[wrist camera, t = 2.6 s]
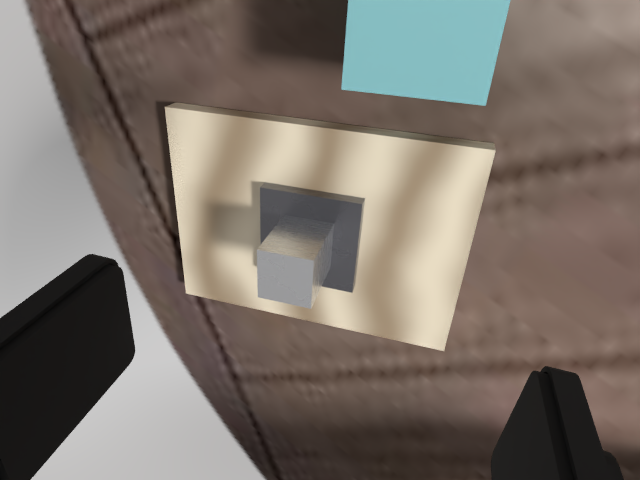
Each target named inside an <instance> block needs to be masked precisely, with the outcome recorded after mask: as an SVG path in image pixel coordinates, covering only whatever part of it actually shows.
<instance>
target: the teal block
mask: <svg viewBox="0 0 640 480" xmlns="http://www.w3.org/2000/svg"><path fill="white" fill-rule="evenodd" d="M509 4H510V0H348V11H347V24H346V37H345V50H344V63H343V76H342V90H351V91H359V92H368V93H377V94H386V95H395V96H404V97H413V98H422V99H431V100H440V101H448V102H457V103H466V104H475V105H484V106H486V102H487V98H488V93H489V89H490V85H491V81H492V76H493V72H494V68H495V64H496V59H497V55H498V51H499V47H500V42H501V38H502V34H503V29H504V25H505V21H506V17H507V12H508V8H509Z"/></svg>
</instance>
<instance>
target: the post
mask: <svg viewBox="0 0 640 480" xmlns="http://www.w3.org/2000/svg"><path fill="white" fill-rule="evenodd" d="M364 204H365V198H360V197H354V196H348V195H342V194H336V193H329V192H323V191H317V190H311V189H305V188H298V187H292V186H286V185H280V184H274V183H267V182H265V183H264V184H263V185H262V186H261V187H260V239H261V245H260V246H259V248H258V249H257V287H258V297H259V298H263V299H268V300H273V301H277V302H282V303H286V304H291V305H296V306H300V307H305V308H309V309H311V308H312V306H313V304H314V302H315V299H316V297H317V295H318V293H319V291H320V289H321V287H327V288H332V289H336V290H341V291H346V292H351V293H353V290H354V287H355V283H356V274H357V265H358V256H359V248H360V239H361V230H362V222H363V213H364Z"/></svg>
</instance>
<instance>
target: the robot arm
mask: <svg viewBox="0 0 640 480" xmlns="http://www.w3.org/2000/svg"><path fill="white" fill-rule="evenodd" d="M134 354H135V345H134V339H133V333H132V326H131V320H130V313H129V307H128V301H127V294H126V288H125V281H124V275H123V271H122V269H121V268H120V267H119V266H118V263H117V262H116V261H115V260H114V259H110V258H106V257H102V256H98V255H94V254H89V255H87V256H85V257H83V258H82V259H81V260H79V261H78V262H77V263H75V264H74V265H72V266H71V267H70V268H68V269H67V270H66V271H64V272H63V273H62V274H60V275H59V276H57V277H56V278H55V279H53V280H52V281H51V282H49V283H48V284H47V285H45V286H44V287H42V288H41V289H40V290H38V291H37V292H36V293H34V294H33V295H31V296H30V297H29V298H28V299H26V300H25V301H23V302H22V303H20V304H19V305H18V306H16V307H15V308H14V309H13V310H11V311H10V312H8V313H7V314H6V315H4V316H3V317H1V318H0V480H30V479H31V478H32V477H33V476H34V475H35V474H36V473H37V471H38V470H39V469H40V468H41V467H42V466H43V464H44V463H45V462H46V461H47V460H48V459H49V457H50V456H51V455H52V454H53V453H54V452H55V450H56V449H57V448H58V447H59V446H60V445H61V443H62V442H63V441H64V440H65V439H66V438H67V437H68V435H69V434H70V433H71V432H72V431H73V430H74V428H75V427H76V426H77V425H78V424H79V423H80V421H81V420H82V419H83V418H84V417H85V416H86V414H87V413H88V412H89V411H90V410H91V409H92V407H93V406H94V405H95V404H96V403H97V402H98V400H99V399H100V398H101V397H102V396H103V395H104V393H105V392H106V391H107V390H108V389H109V388H110V386H111V385H112V384H113V383H114V382H115V381H116V379H117V378H118V377H119V376H120V375H121V374H122V373H123V371H124V370H125V369H126V368H127V366H128V365H129V364H130V363H131V361H132V359H133V357H134ZM491 474H492V480H624V479H623V476H622V473H621V470H620V467H619V465H618V463H617V461H616V459H615V458H614V456H613V455H612V454H611V453H609V452H606V451H603V450H602V447H601V443H600V440H599V437H598V434H597V431H596V428H595V425H594V421H593V418H592V415H591V412H590V409H589V406H588V403H587V399H586V396H585V393H584V390H583V387H582V384H581V381H580V378H579V376H578V375H577V374H576V373H572V372H568V371H564V370H560V369H556V368H552V367H548V366H545V367H544V368H543V369H542V370H541V372H538V371H533V372H532V373H531V374H530V376H529V378H528V380H527V382H526V384H525V386H524V389H523V391H522V393H521V395H520V397H519V399H518V401H517V403H516V405H515V407H514V409H513V411H512V413H511V416H510V418H509V420H508V422H507V424H506V426H505V428H504V430H503V432H502V434H501V436H500V438H499V440H498V443H497V445H496V447H495V449H494V451H493V455H492V460H491Z"/></svg>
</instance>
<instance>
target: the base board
mask: <svg viewBox="0 0 640 480" xmlns="http://www.w3.org/2000/svg"><path fill="white" fill-rule="evenodd" d="M165 114H166V123H167V131H168V140H169V149H170V158H171V166H172V175H173V184H174V192H175V201H176V210H177V218H178V227H179V236H180V244H181V253H182V262H183V270H184V279H185V288H186V293H187V294H191V295H196V296H200V297H205V298H209V299H214V300H218V301H222V302H227V303H231V304H236V305H240V306H245V307H249V308H254V309H258V310H263V311H267V312H272V313H276V314H281V315H285V316H290V317H294V318H299V319H303V320H307V321H312V322H316V323H321V324H325V325H330V326H334V327H339V328H343V329H348V330H352V331H357V332H361V333H366V334H370V335H375V336H379V337H383V338H388V339H392V340H397V341H401V342H406V343H410V344H415V345H419V346H424V347H428V348H433V349H437V350H442V351H444V349H445V345H446V341H447V337H448V333H449V329H450V325H451V321H452V318H453V314H454V310H455V306H456V302H457V298H458V294H459V290H460V287H461V283H462V279H463V275H464V271H465V267H466V263H467V259H468V256H469V252H470V248H471V244H472V240H473V236H474V232H475V228H476V225H477V221H478V217H479V213H480V209H481V205H482V201H483V197H484V194H485V190H486V186H487V182H488V178H489V174H490V170H491V166H492V163H493V159H494V155H495V151H496V150H495V145H494V143H489V142H481V141H473V140H465V139H457V138H450V137H442V136H434V135H426V134H418V133H411V132H403V131H395V130H387V129H380V128H372V127H364V126H356V125H348V124H341V123H333V122H325V121H317V120H309V119H302V118H294V117H286V116H278V115H270V114H263V113H255V112H247V111H239V110H231V109H224V108H216V107H208V106H200V105H193V104H185V103H177V102H176V103H173V104H171V105H168V106H166V107H165ZM265 182H267V183H274V184H280V185H286V186H292V187H298V188H305V189H311V190H317V191H323V192H329V193H336V194H342V195H348V196H354V197H360V198H365V204H364V213H363V222H362V230H361V239H360V248H359V256H358V265H357V274H356V283H355V287H354V290H353V293H351V292H346V291H341V290H336V289H332V288H327V287H321V289H320V291H319V293H318V295H317V297H316V299H315V302H314V304H313V306H312V308H311V309H309V308H305V307H300V306H296V305H291V304H286V303H282V302H277V301H273V300H268V299H263V298H259V297H258V287H257V249H258V248H259V246H260V245H261V239H260V187H261V186H262V185H263V184H264V183H265Z"/></svg>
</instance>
